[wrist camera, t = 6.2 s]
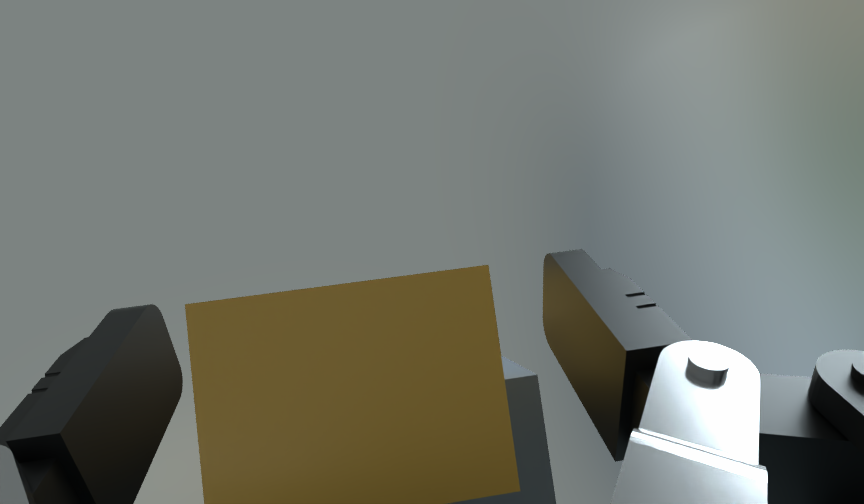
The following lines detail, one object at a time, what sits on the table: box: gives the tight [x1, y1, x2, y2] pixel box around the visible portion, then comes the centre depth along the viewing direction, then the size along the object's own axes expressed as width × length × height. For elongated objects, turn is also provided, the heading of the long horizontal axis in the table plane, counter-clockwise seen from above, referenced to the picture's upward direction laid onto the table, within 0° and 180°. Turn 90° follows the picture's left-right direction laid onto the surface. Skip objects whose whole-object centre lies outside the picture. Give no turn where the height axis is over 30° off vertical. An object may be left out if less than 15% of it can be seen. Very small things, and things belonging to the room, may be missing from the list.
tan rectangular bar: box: [185, 265, 520, 504], centre depth 16 cm, size 19×4×3 cm, turn 4°
